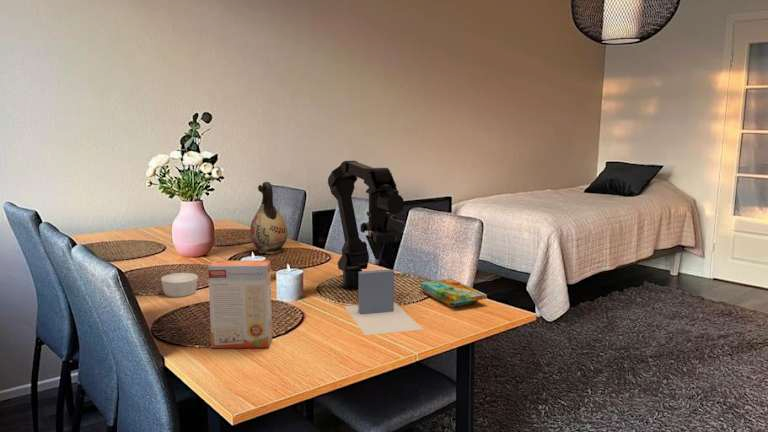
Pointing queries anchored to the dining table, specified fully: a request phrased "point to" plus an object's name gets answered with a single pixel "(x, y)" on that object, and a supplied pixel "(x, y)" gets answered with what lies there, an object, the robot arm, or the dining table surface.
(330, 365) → the dining table surface
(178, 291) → the ramekin
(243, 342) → the cracker box
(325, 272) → the dining table surface
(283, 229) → the ceramic jug
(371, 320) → the mat
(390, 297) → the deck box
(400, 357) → the dining table surface
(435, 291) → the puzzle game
